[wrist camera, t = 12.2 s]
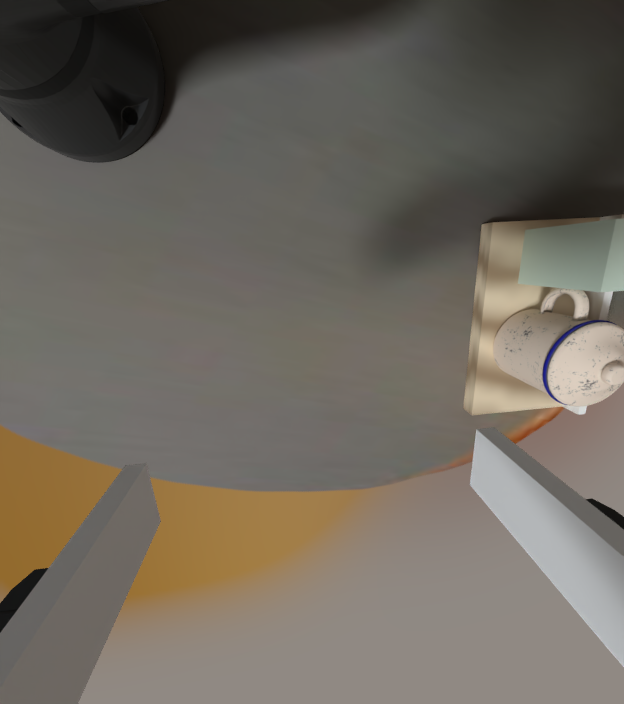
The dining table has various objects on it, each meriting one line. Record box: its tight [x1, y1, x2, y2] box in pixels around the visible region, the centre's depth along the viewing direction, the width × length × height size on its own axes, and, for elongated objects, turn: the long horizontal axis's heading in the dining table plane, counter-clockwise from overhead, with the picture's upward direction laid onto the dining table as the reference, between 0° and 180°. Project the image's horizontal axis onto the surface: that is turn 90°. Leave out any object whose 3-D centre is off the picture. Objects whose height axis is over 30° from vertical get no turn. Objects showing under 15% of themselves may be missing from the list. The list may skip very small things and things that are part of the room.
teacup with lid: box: [493, 288, 624, 406], centre depth 33 cm, size 12×9×12 cm
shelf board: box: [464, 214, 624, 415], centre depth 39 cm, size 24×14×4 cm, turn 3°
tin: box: [518, 219, 624, 292], centre depth 32 cm, size 6×6×10 cm
